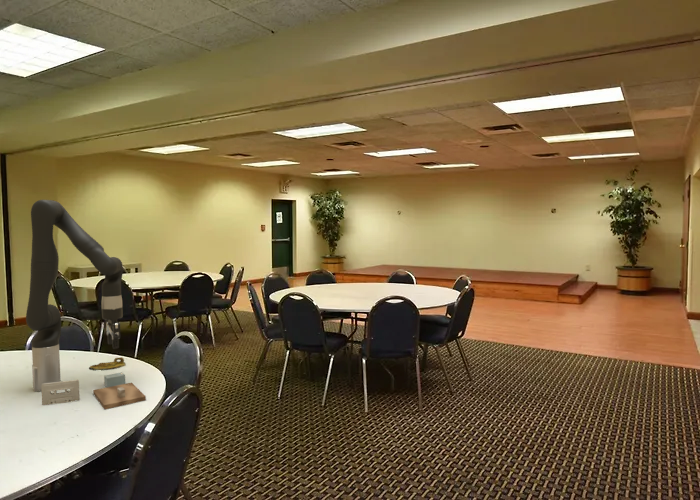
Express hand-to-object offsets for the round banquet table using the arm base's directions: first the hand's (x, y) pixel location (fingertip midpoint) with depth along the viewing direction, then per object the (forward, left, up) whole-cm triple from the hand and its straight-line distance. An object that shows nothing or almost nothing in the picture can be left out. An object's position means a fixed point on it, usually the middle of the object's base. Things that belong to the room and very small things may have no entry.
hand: (113, 346), depth 196 cm
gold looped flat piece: (+3, +29, -17) cm, 33 cm away
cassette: (-20, -8, -16) cm, 27 cm away
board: (-2, -16, -16) cm, 23 cm away
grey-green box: (0, 0, -16) cm, 16 cm away
